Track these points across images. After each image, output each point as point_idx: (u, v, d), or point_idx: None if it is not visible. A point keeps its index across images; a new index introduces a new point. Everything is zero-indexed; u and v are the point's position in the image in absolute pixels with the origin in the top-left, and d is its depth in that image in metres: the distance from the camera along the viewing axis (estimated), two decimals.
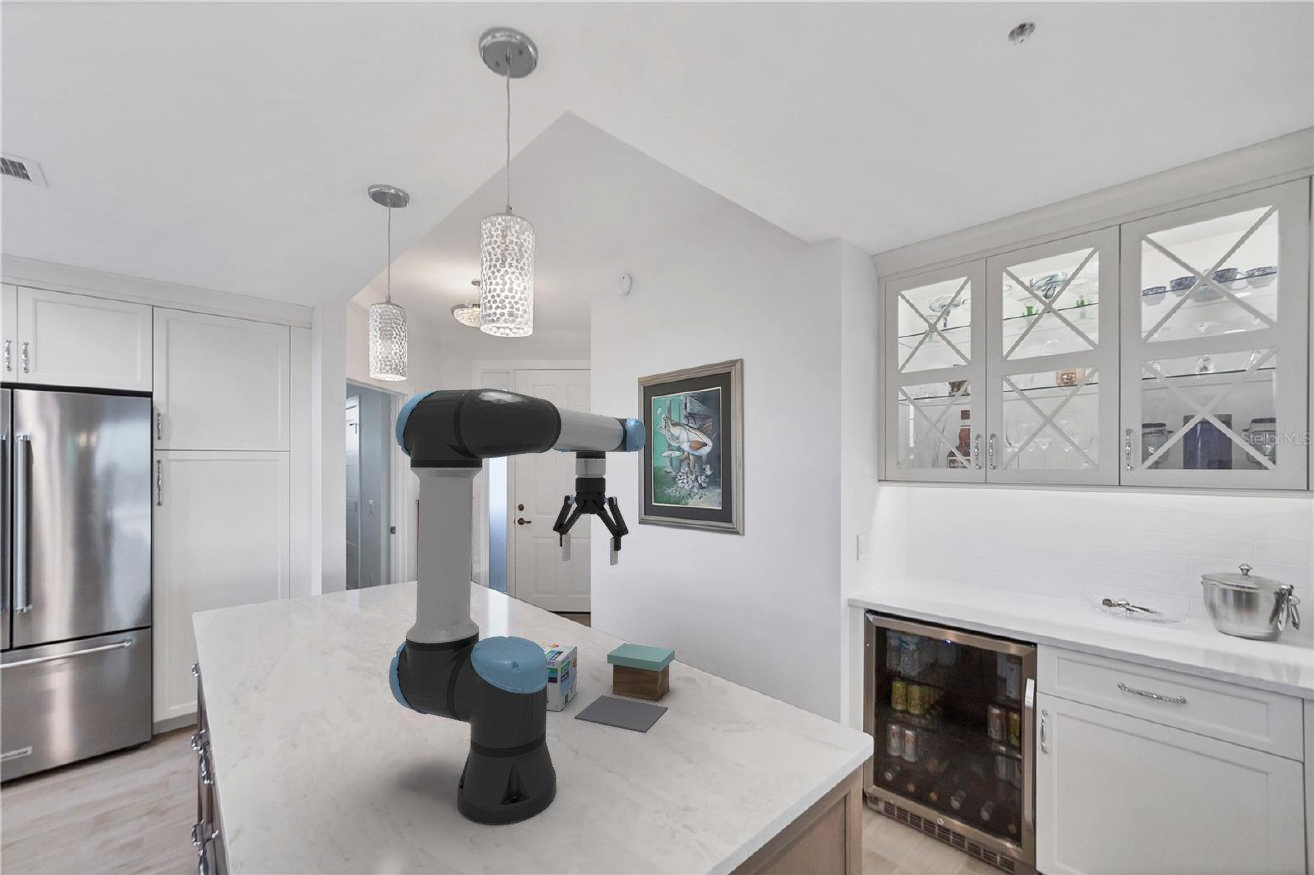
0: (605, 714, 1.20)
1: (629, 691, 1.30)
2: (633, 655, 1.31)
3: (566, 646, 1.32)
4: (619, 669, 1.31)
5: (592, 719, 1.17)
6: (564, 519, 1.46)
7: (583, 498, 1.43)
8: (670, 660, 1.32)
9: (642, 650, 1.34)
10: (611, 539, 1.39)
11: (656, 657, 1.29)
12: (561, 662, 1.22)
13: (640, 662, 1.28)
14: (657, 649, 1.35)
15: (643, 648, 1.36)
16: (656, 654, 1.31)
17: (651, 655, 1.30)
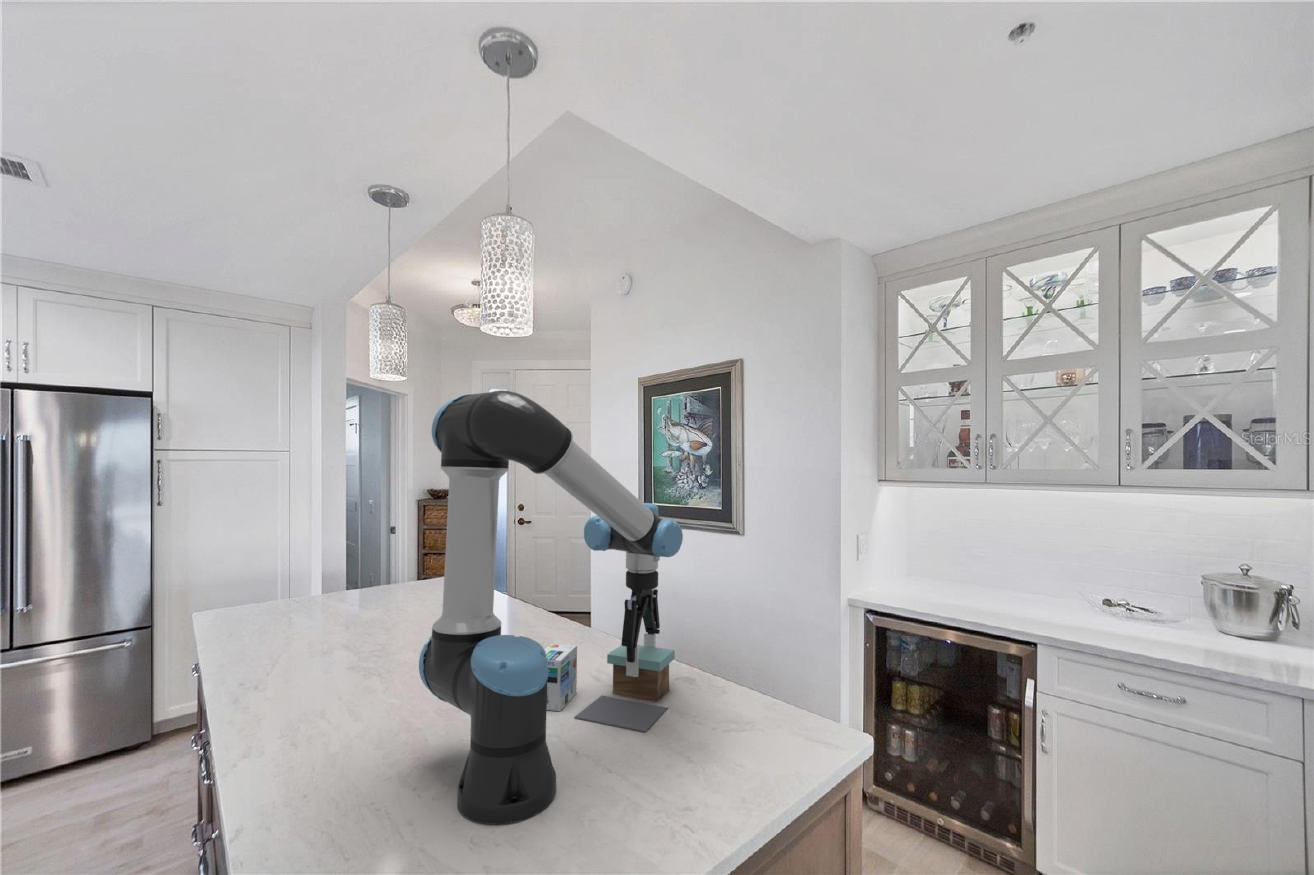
0: (605, 714, 1.20)
1: (629, 691, 1.30)
2: None
3: (566, 646, 1.32)
4: (619, 669, 1.31)
5: (592, 719, 1.17)
6: (654, 615, 1.39)
7: None
8: (670, 660, 1.32)
9: (642, 650, 1.34)
10: None
11: (656, 657, 1.29)
12: (561, 662, 1.22)
13: (640, 662, 1.28)
14: (657, 649, 1.35)
15: (643, 648, 1.36)
16: (656, 654, 1.31)
17: (651, 655, 1.30)
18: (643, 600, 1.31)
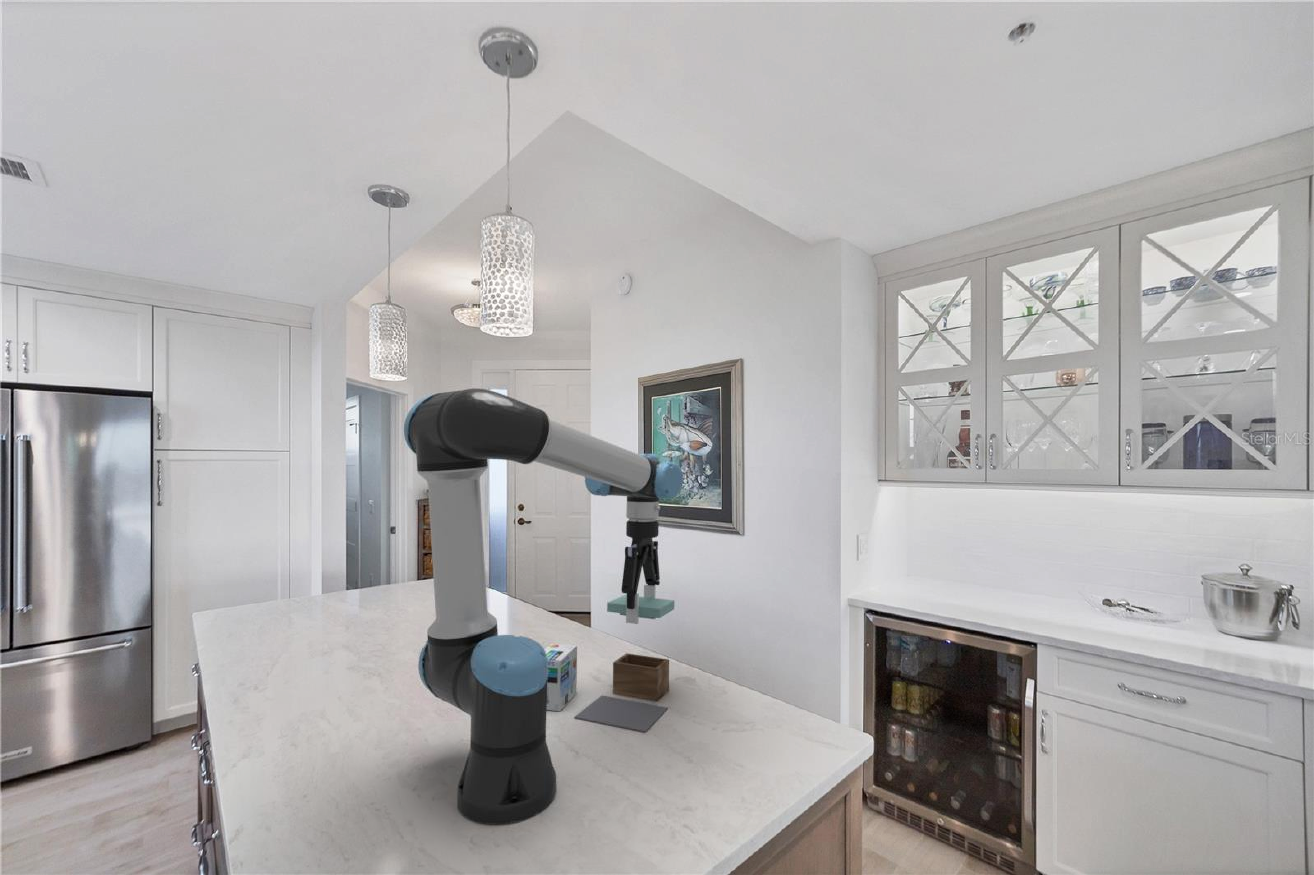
0: (605, 714, 1.20)
1: (629, 691, 1.30)
2: None
3: (566, 646, 1.32)
4: (619, 669, 1.31)
5: (592, 719, 1.17)
6: (654, 567, 1.39)
7: None
8: (670, 609, 1.32)
9: (642, 600, 1.34)
10: None
11: (656, 605, 1.29)
12: (561, 662, 1.22)
13: (639, 609, 1.28)
14: (657, 599, 1.35)
15: (643, 598, 1.36)
16: (656, 603, 1.32)
17: (651, 603, 1.31)
18: (643, 549, 1.31)
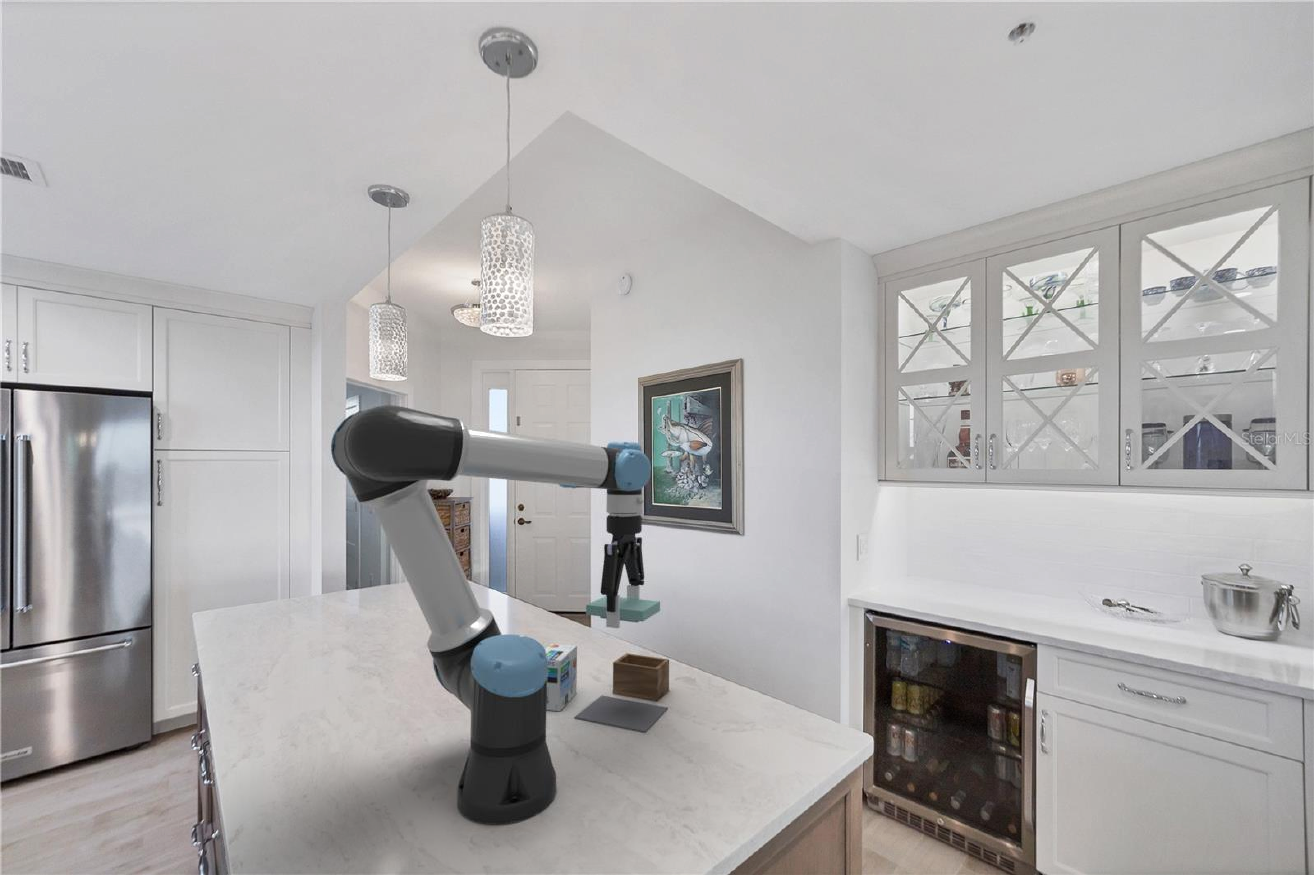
0: (605, 714, 1.20)
1: (629, 691, 1.30)
2: None
3: (566, 646, 1.32)
4: (619, 669, 1.31)
5: (592, 719, 1.17)
6: (638, 566, 1.28)
7: None
8: (655, 611, 1.21)
9: (624, 602, 1.23)
10: None
11: (639, 607, 1.18)
12: (561, 662, 1.22)
13: (621, 612, 1.17)
14: (641, 600, 1.24)
15: (626, 599, 1.25)
16: (639, 605, 1.20)
17: (634, 605, 1.20)
18: (625, 546, 1.20)
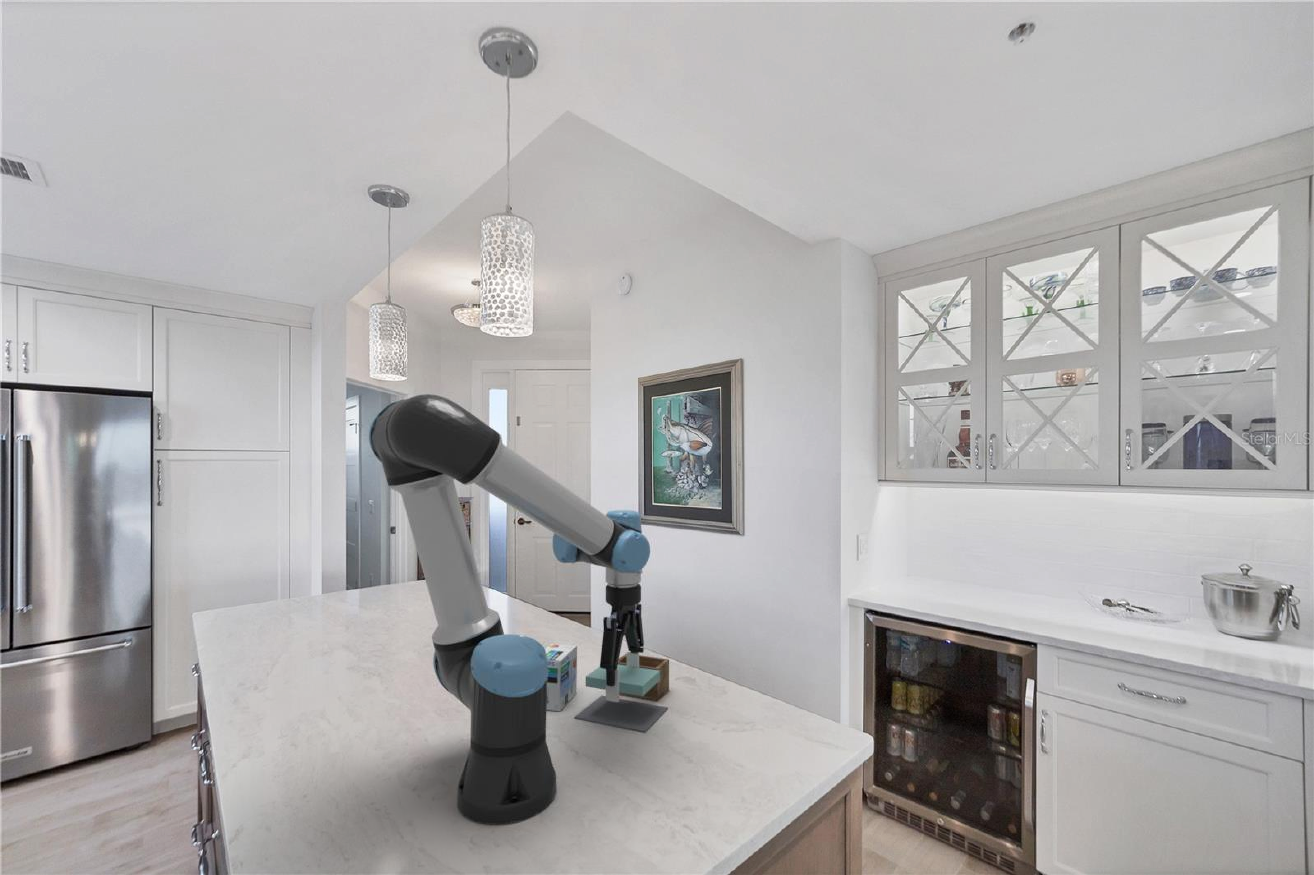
0: (605, 714, 1.20)
1: None
2: None
3: (566, 646, 1.32)
4: None
5: (592, 719, 1.17)
6: (637, 632, 1.27)
7: None
8: (654, 682, 1.20)
9: (624, 671, 1.22)
10: None
11: (639, 680, 1.18)
12: (561, 662, 1.22)
13: (621, 686, 1.16)
14: (641, 670, 1.23)
15: (626, 668, 1.24)
16: (639, 676, 1.20)
17: (634, 677, 1.19)
18: (624, 618, 1.19)
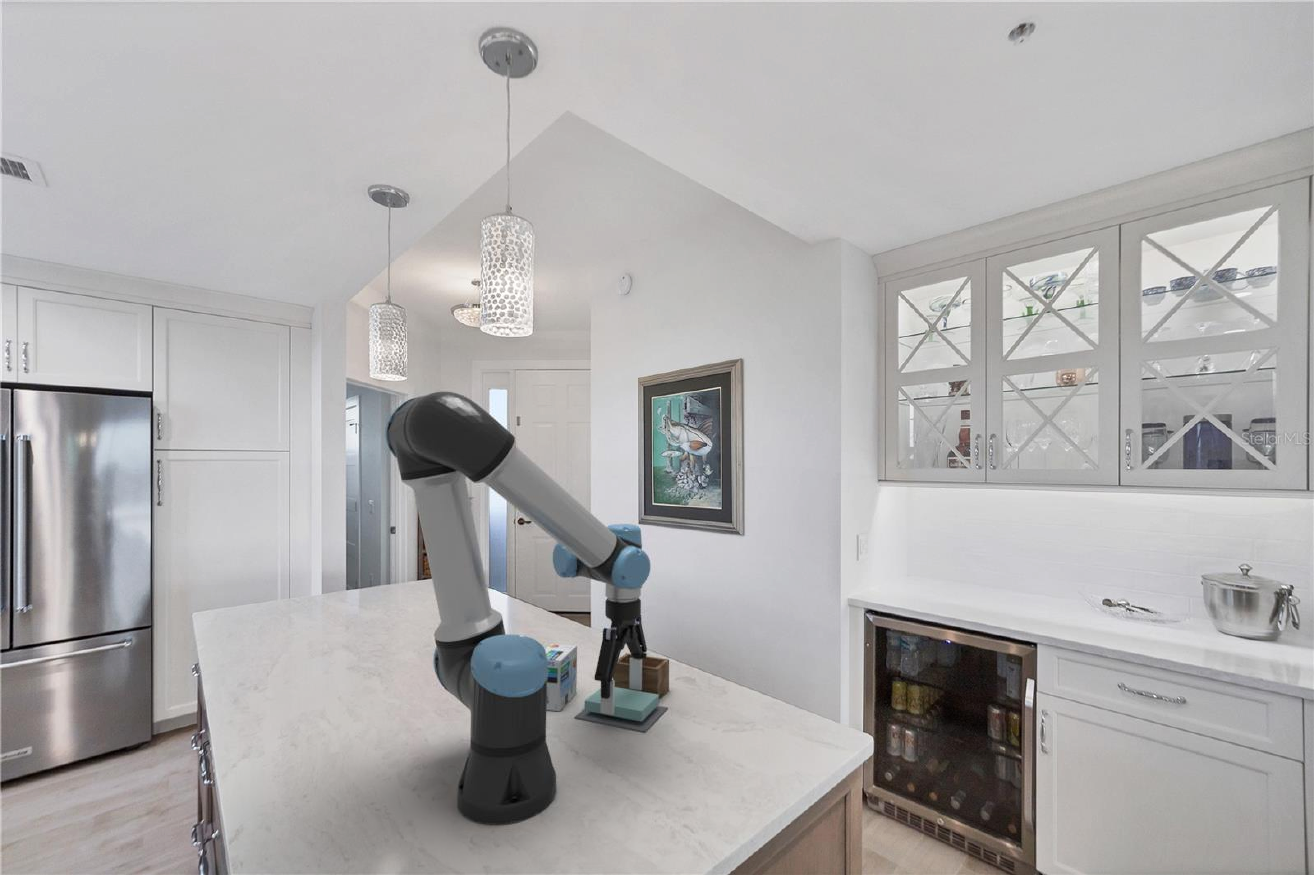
0: None
1: None
2: None
3: (566, 646, 1.32)
4: (619, 669, 1.31)
5: (592, 719, 1.17)
6: (639, 641, 1.28)
7: None
8: (654, 706, 1.20)
9: (623, 695, 1.22)
10: None
11: (638, 704, 1.17)
12: (561, 662, 1.22)
13: (620, 710, 1.16)
14: (640, 693, 1.23)
15: (625, 692, 1.24)
16: (638, 700, 1.19)
17: (633, 701, 1.19)
18: (624, 631, 1.19)
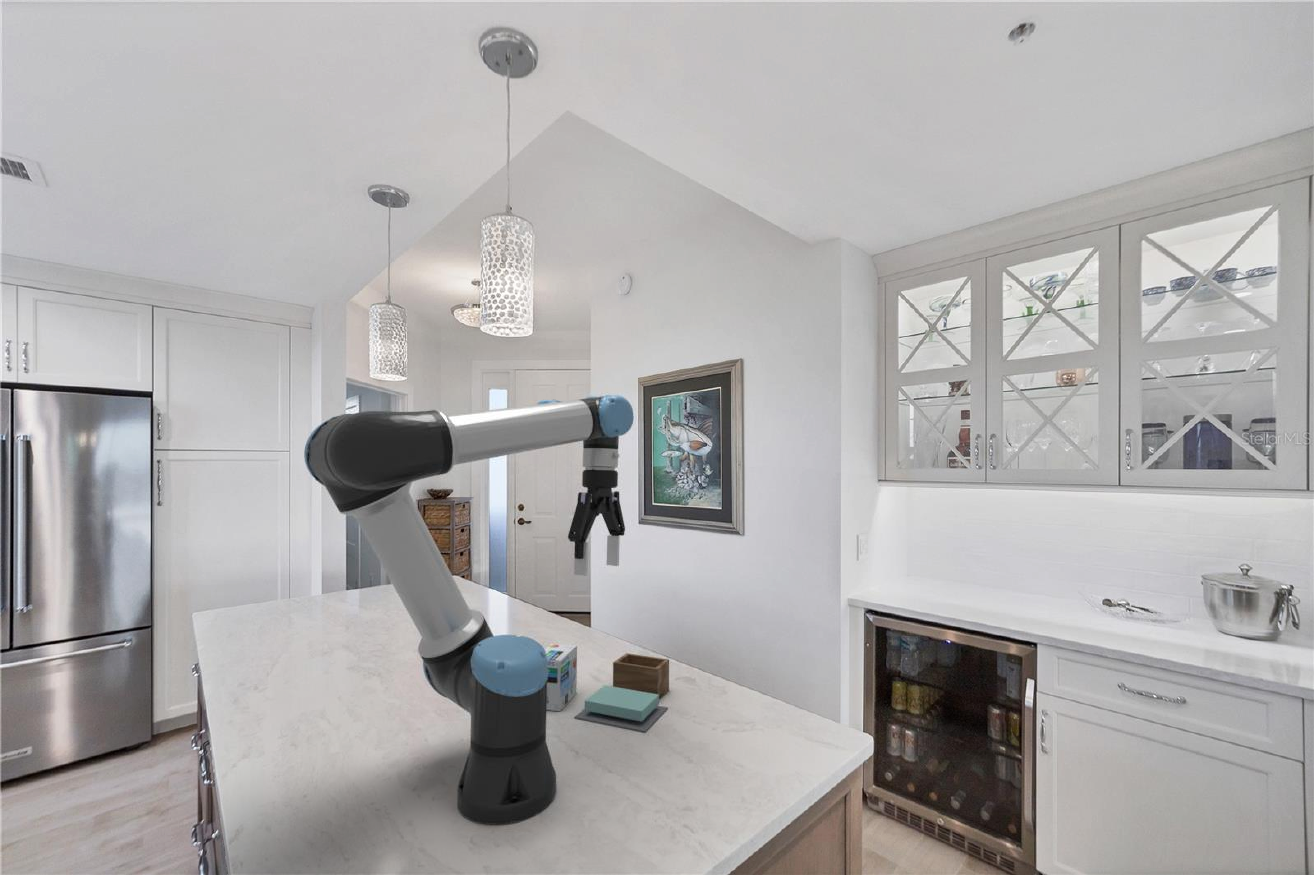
0: None
1: None
2: (613, 701, 1.19)
3: (566, 646, 1.32)
4: (619, 669, 1.31)
5: (592, 719, 1.17)
6: (617, 518, 1.29)
7: None
8: (654, 706, 1.20)
9: (623, 695, 1.22)
10: None
11: (638, 704, 1.17)
12: (561, 662, 1.22)
13: (620, 710, 1.16)
14: (640, 693, 1.23)
15: (625, 692, 1.24)
16: (638, 700, 1.19)
17: (633, 701, 1.19)
18: (600, 499, 1.20)
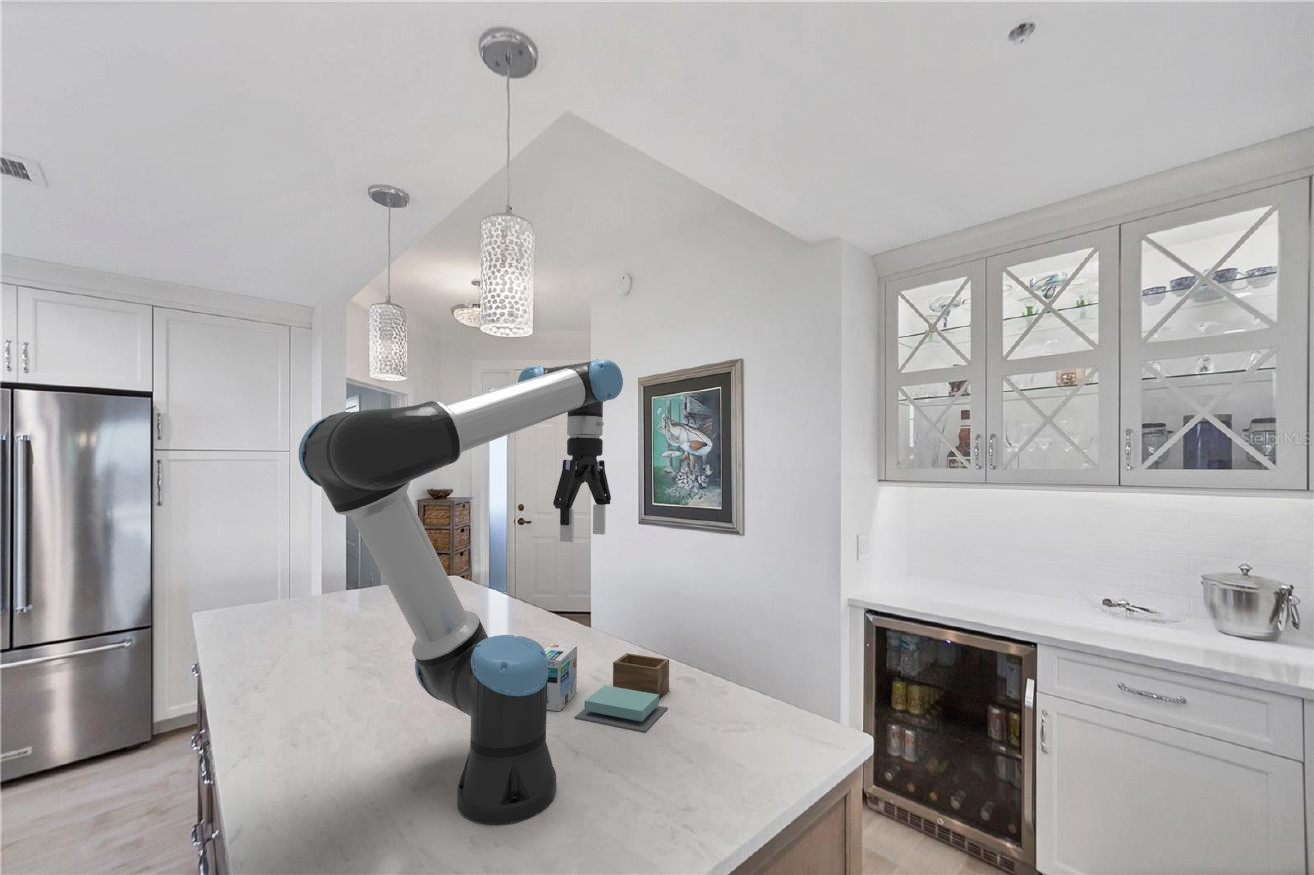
0: None
1: None
2: (613, 701, 1.19)
3: (566, 646, 1.32)
4: (619, 669, 1.31)
5: (592, 719, 1.17)
6: (603, 487, 1.29)
7: None
8: (654, 706, 1.20)
9: (623, 695, 1.22)
10: None
11: (638, 704, 1.17)
12: (561, 662, 1.22)
13: (620, 710, 1.16)
14: (640, 693, 1.23)
15: (625, 692, 1.24)
16: (638, 700, 1.19)
17: (633, 701, 1.19)
18: (585, 467, 1.20)
